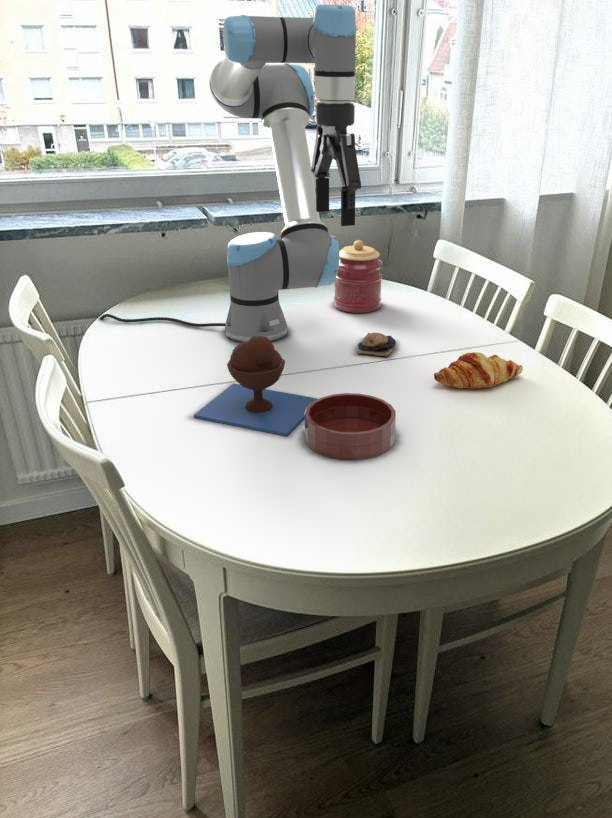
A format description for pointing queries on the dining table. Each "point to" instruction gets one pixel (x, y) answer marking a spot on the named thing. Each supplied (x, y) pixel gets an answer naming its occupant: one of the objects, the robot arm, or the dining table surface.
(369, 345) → the open sandwich
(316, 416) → the pot
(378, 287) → the kitchen canister
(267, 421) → the cloth
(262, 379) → the ice cream bowl
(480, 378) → the croissant
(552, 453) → the dining table surface
